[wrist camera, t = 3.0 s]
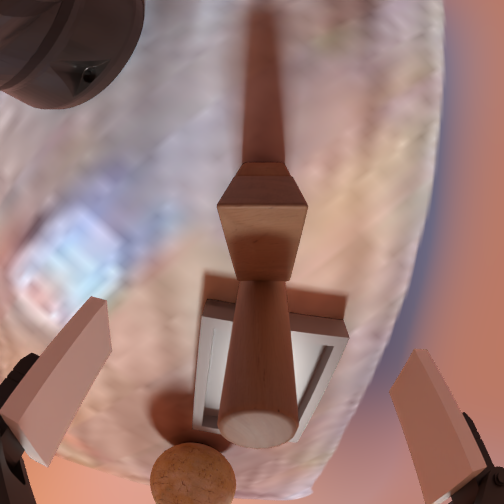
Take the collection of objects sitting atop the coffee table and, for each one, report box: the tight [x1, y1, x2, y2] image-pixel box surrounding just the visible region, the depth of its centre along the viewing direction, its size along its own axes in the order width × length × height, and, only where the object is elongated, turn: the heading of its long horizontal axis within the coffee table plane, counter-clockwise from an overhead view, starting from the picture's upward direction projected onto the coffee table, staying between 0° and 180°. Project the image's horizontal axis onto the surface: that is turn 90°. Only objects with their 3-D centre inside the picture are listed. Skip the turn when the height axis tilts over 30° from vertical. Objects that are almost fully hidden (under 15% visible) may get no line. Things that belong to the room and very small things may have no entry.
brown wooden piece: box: [217, 162, 308, 449], centre depth 18 cm, size 4×11×18 cm, turn 1°
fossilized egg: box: [150, 443, 236, 504], centre depth 35 cm, size 13×13×15 cm
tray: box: [192, 299, 349, 442], centre depth 32 cm, size 19×14×3 cm
